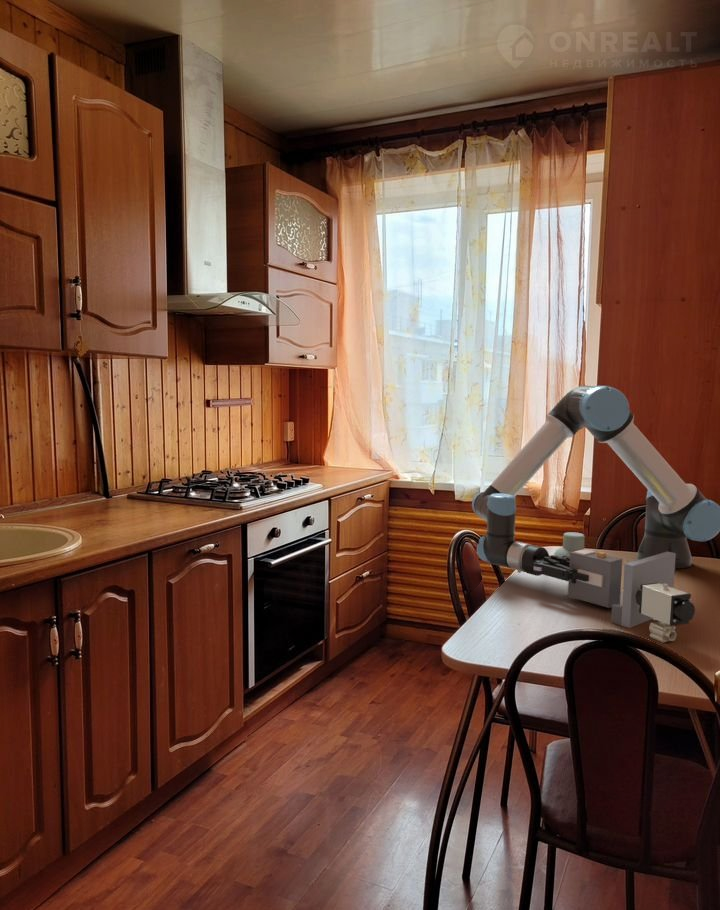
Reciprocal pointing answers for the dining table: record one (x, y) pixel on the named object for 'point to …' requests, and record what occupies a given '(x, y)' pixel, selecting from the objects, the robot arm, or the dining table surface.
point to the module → (598, 565)
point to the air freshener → (570, 544)
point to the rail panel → (634, 576)
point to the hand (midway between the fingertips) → (608, 579)
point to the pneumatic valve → (664, 609)
